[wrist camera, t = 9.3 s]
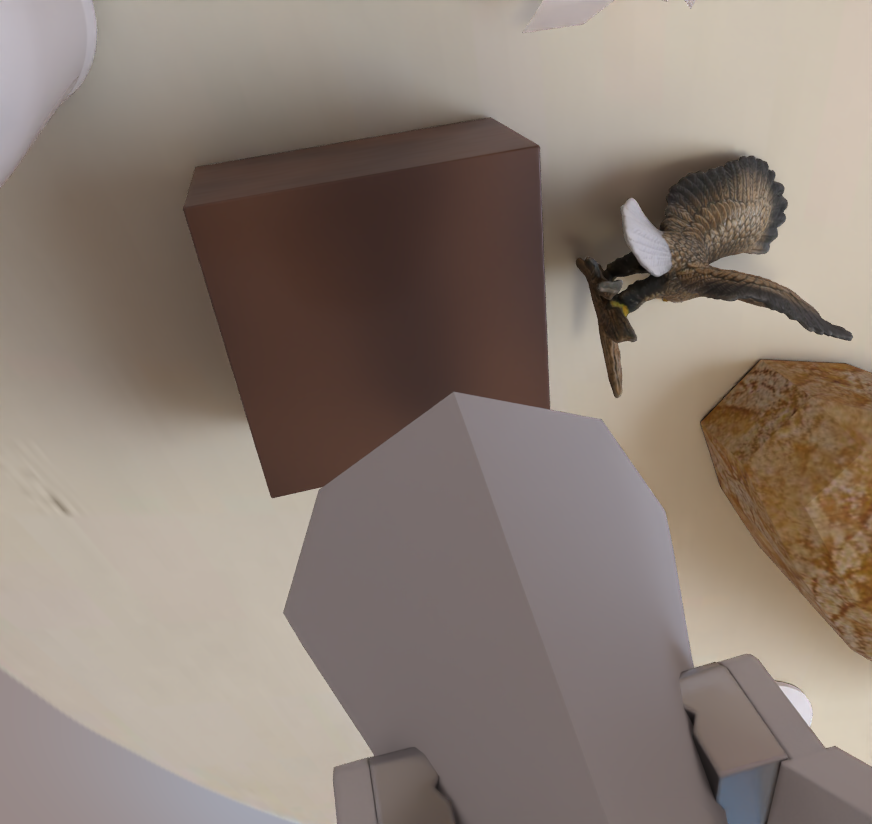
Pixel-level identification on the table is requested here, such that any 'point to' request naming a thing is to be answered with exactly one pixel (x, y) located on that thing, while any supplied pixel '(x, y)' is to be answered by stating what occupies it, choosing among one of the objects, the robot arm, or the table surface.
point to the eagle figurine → (697, 254)
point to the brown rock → (805, 480)
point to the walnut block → (373, 286)
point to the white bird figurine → (568, 13)
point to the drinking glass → (39, 67)
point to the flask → (508, 617)
